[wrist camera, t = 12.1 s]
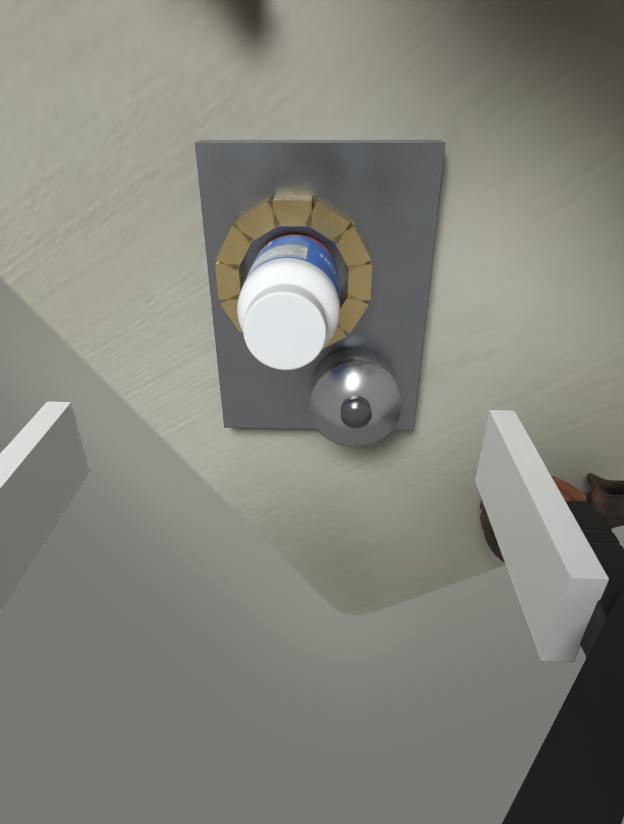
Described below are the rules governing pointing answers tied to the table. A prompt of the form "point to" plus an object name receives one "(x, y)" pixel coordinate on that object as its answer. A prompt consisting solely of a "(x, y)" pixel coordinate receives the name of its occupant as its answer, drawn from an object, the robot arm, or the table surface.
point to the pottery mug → (607, 497)
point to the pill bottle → (290, 302)
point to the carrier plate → (357, 275)
